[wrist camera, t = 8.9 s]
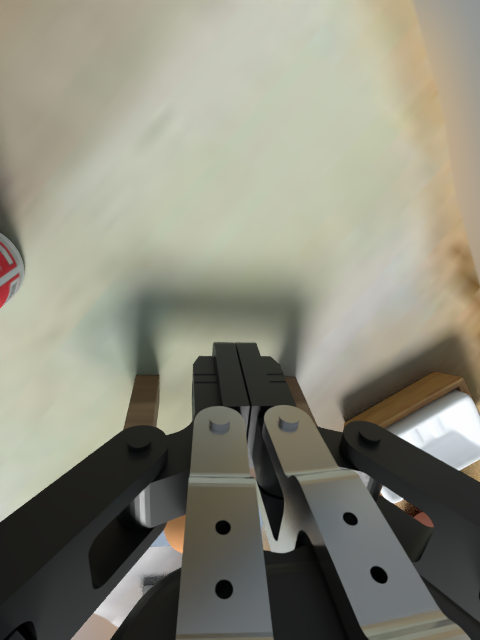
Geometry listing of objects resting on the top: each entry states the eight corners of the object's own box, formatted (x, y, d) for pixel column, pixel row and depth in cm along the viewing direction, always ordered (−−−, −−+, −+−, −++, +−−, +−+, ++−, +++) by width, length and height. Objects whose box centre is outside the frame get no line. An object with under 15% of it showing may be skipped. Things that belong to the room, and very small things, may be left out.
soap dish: (366, 473, 42) (388, 513, 38) (328, 419, 38) (347, 457, 34) (468, 418, 40) (503, 453, 36) (439, 356, 36) (475, 387, 32)
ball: (160, 531, 40) (167, 481, 40) (211, 532, 41) (217, 483, 41) (159, 567, 35) (167, 509, 34) (217, 567, 36) (225, 510, 36)
